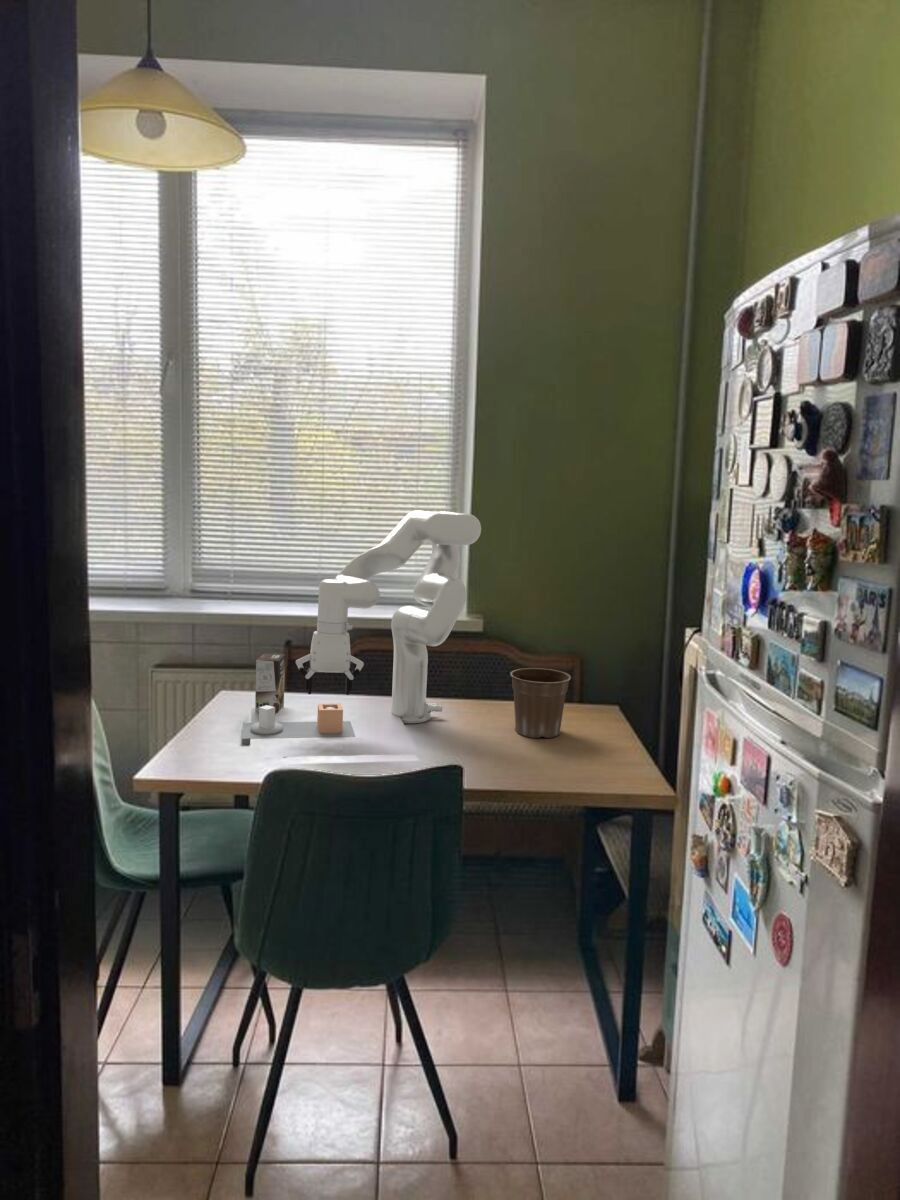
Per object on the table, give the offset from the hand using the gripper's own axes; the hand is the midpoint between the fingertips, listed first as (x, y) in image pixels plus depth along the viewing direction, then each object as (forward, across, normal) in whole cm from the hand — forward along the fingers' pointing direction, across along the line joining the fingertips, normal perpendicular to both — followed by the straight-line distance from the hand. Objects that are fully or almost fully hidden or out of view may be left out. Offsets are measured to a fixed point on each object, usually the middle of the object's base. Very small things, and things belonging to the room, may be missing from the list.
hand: (328, 693), depth 224 cm
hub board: (+11, +7, -1) cm, 13 cm away
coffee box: (+12, +14, -21) cm, 27 cm away
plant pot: (+10, -57, 0) cm, 58 cm away
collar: (+10, -1, -1) cm, 10 cm away
